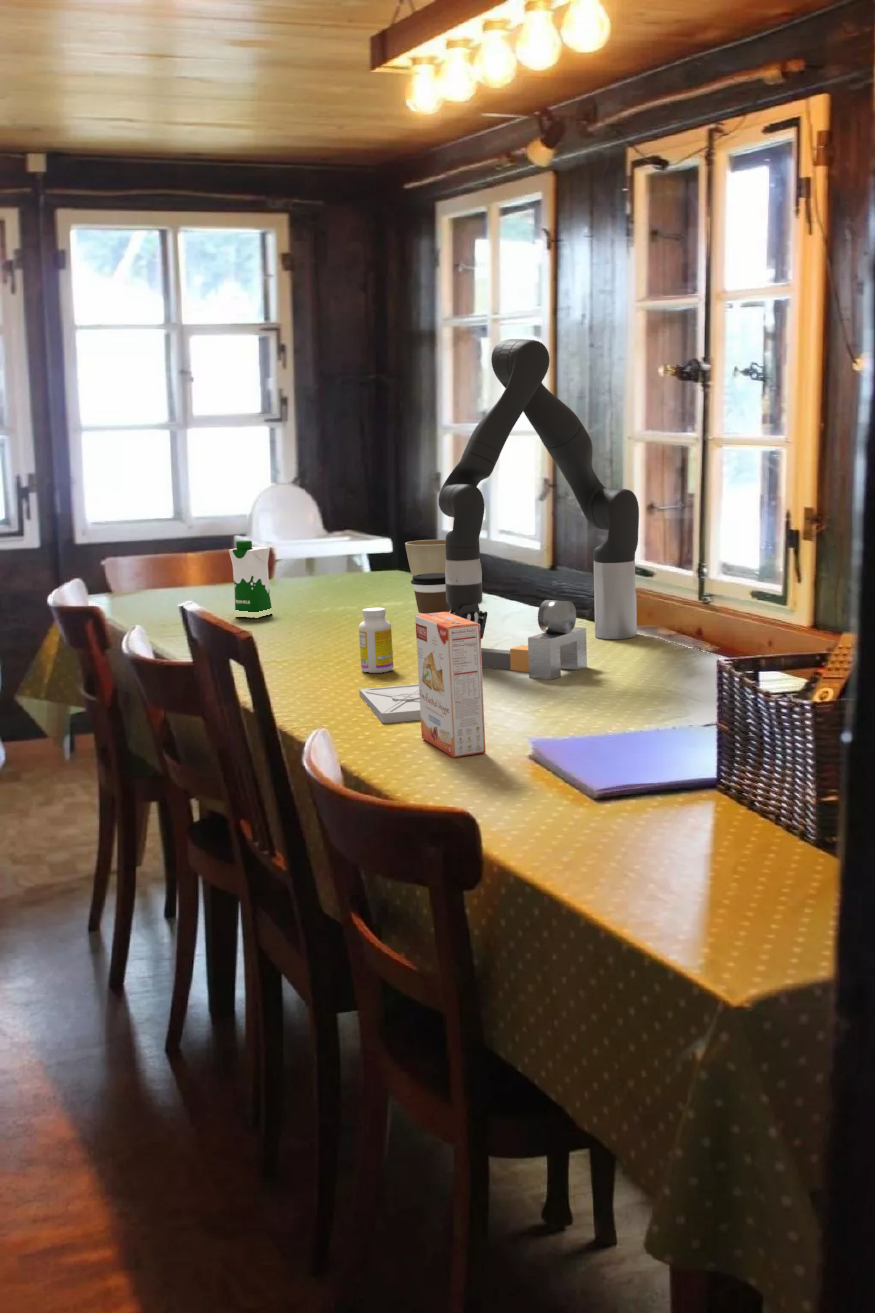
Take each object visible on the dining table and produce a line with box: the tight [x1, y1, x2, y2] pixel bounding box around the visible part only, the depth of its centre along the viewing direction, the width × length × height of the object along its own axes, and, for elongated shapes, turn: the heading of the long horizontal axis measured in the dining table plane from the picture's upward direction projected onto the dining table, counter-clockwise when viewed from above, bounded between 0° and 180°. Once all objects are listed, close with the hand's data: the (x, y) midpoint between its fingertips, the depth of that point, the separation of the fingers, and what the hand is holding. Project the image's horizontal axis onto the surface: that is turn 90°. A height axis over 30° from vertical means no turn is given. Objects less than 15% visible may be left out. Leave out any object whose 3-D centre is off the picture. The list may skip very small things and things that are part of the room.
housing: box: [527, 599, 588, 681], centre depth 276 cm, size 14×5×14 cm, turn 144°
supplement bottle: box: [358, 607, 394, 674], centre depth 285 cm, size 7×7×13 cm
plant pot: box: [404, 539, 446, 577], centre depth 379 cm, size 15×15×16 cm
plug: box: [481, 644, 529, 673], centre depth 285 cm, size 19×4×4 cm, turn 54°
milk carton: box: [228, 540, 273, 612], centre depth 363 cm, size 9×9×20 cm
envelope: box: [358, 683, 421, 724], centre depth 253 cm, size 24×2×14 cm
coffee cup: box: [410, 573, 451, 615], centre depth 340 cm, size 11×11×12 cm
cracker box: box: [414, 612, 486, 758], centre depth 220 cm, size 14×6×21 cm, turn 21°
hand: (466, 662), depth 290 cm, fingers closed on plug, 3 cm apart
